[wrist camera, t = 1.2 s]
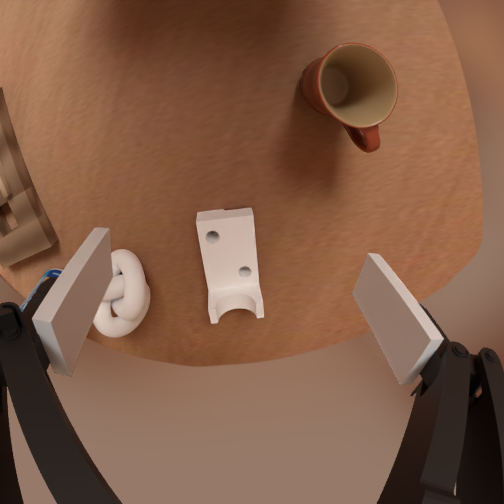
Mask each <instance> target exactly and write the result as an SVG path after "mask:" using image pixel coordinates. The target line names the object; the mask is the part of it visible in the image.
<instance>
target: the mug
mask: <svg viewBox="0 0 504 504" xmlns="http://www.w3.org/2000/svg"><path fill="white" fill-rule="evenodd" d="M301 91H302V94H303V96H304V98H305V100H306V101H307V102H308V104H309V105H311V106H312V107H313V108H314V109H315V110H316V111H318V112H320V113H322V114H325V115H328V116H333V117H334V118H335V119H337V120H338V121H340V122H341V123H342V125H343V126H344V128H345V129H346V131H347V132H348V134H349V136H350V138H351V139H352V141H353V142H354V144H355V145H356V146H357V147H358V148H359V149H361V150H362V151H364V152H366V153H370V152H374V151H376V150H378V148H379V147H380V138H379V132H378V124H380V123H382V122H384V121H385V120H386V119H387V118H388V117H389V115H390V114H391V112H392V111H393V109H394V107H395V104H396V101H397V97H398V83H397V79H396V75H395V72H394V70H393V68H392V66H391V65H390V63H389V62H388V61H387V59H386V58H385V57H384V56H383V55H382V54H381V53H379V52H378V51H377V50H375V49H373V48H372V47H369V46H367V45H364V44H359V43H346V44H342V45H339V46H337V47H335V48H333V49H332V50H330V51H329V52H328V53H327V54H326V55H325V56H324V57H322V58H319V59H317V60H315V61H313V62H312V63H311V64H310V65H309V66H307V68H306V69H305V70H304V71H303V74H302V78H301ZM359 129H360V130H359ZM360 131H361V132H362V133H363V135H364V136H363V135H362V133H361V132H360Z"/></svg>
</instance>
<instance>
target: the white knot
mask: <svg viewBox="0 0 504 504" xmlns="http://www.w3.org/2000/svg"><path fill="white" fill-rule="evenodd" d="M111 257H112V268H113V278H112V280H111V282H110V284H109V286H108V289H107V291H106V293H105V295H104V297H103V300H102V302H101V304H100V306H99V309H98V311H97V313H96V315H95V318H94V320H93V323H94V325H95V327H96V328H97V330H98V331H99V332H100V333H102V334H103V335H105V336H107V337H122V336H125V335H127V334H129V333H130V332H132V331H133V330H134V329H135V328H136V327H137V326H138V325H139V324H140V323H141V322H142V320H143V318H144V317H145V315H146V313H147V311H148V308H149V304H150V298H151V297H150V288H149V286H148V284H147V283H146V280H145V275H144V271H143V267H142V265H141V263H140V260H139V259H138V258H137V256H136V255H135V254H133V253H132V252H131V251H129V250H126V249H118V250H115V251H113V252H112V253H111ZM121 272H122V275H119V274H120V273H121ZM111 307H112V308H113V310H114V312H115V313H116V314H117V315H118V316H117V317H112V315H111Z"/></svg>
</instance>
